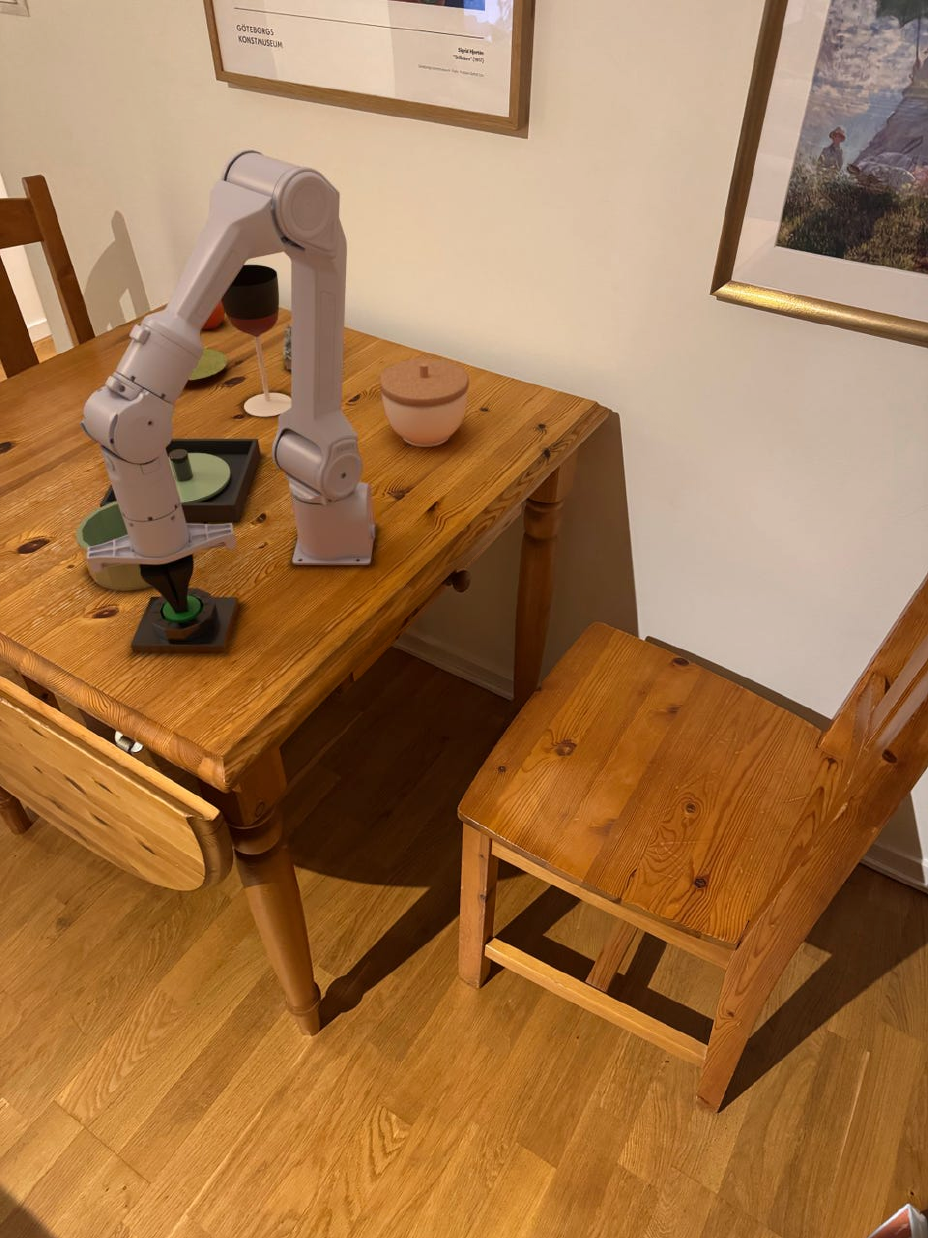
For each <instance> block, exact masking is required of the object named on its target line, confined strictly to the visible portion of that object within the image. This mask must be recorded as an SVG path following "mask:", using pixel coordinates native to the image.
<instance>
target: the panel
mask: <svg viewBox="0 0 928 1238" xmlns="http://www.w3.org/2000/svg"><path fill="white" fill-rule="evenodd" d="M187 595H188V596H193V597H195V598H197V599H198V600H199V602H200V604H201V608H202V611H201V613H200V614H198V615H197V616H196V617H195V618H193V619H191V620H188V621H185V622H169V621H167V620H165V617H164V614H163V608H164V605H165V604H166V603H167V602H168V601H167V600H166V599H165V598H164V597H163V596H162V595H161V596H150V598H149V601H148V603H147V605H146V607H145V609H144V612H143V615H142V617H141V620H140V622H139V624H138V626H137V629H136V631H135V634H134V636H133V638H132V640H131V643H130V648H131V650H132V653H134V654H135V653H141V654H142V653H144V654H145V653H148V654H149V653H152V654H153V653H154V654H155V653H158V654H159V653H161V654H162V653H163V654H164V653H165V654H166V653H168V654H169V653H170V654H171V653H173V654H175V653H176V654H177V653H179V654H181V653H182V654H185V653H187V654H188V653H189V654H209V653H210V654H221V653H222V654H225V652H226V649H227V646H228V643H229V640H230V637H231V633H232V629H233V626H234V624H235V620H236V618H237V614H238V610H239V607H240V602H239V598H238V597H237V596H212V594H211V593H210V592H207V591H205V590H203V589H200V588H199V587H188V592H187Z"/></svg>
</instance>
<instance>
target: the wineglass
mask: <svg viewBox="0 0 928 1238" xmlns="http://www.w3.org/2000/svg"><path fill="white" fill-rule="evenodd" d="M221 303H222V306H223V308H224V311H225V316H226V318H227V319H228V321H229V323H230V324H231V326H232V327H233V328H235V329H236V330H238V331H240V332H242V333H245V334H248V335H250V336H253V338H254V344H255V350H256V356H257V362H258V368H259V372H260V378H261V384H262V390H263V393H260V394H257V395H253V396H252V397H249V398H248V399H247V400H246V401H245V403H244V405H243V409H244V411H245V412H246V413H247V414H249V415H251V416H257V417H273V416H279V415H281V414H282V413H284V412H285V411H287V410H288V409H289V408H291V396H289V395H286V394H284V393H280V392H270V391H269V385H268V380H267V373H266V367H265V361H264V355H263V350H262V344H261V337H260V336H261V335H262V334H265V333H266V332H268V331H270V330H271V329H273V328H274V326H275V325H276V324H277V321H278V319H279V313H280V288H279V278H278V272H277V271H276V269H274V268H273V267H271V266H266V265H261V264H244V265H243V267H242V268H241V270H240V271H239V273H238V274H237V276H236V277H235V279H234V280H233V282H232V283H231V285H230V286H229V288H228V289H227V291H226V292H225V294H224V295H223V297H222V299H221Z"/></svg>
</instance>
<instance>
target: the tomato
mask: <svg viewBox="0 0 928 1238" xmlns="http://www.w3.org/2000/svg"><path fill="white" fill-rule="evenodd" d="M225 316H226V313H225V311H224V308H223V306H222V303H221V300H220V302H219V303H218V305H217V306H216V308H215V309H214V311H213V312H212V314H211V315H210V317H209V318H208V320H207V321H206V323H205V324H204V326H203V327H202V329H201V330H206V331H207V330H213V329H216V328H217V327H220V324H222V322H223V320H224V318H225Z"/></svg>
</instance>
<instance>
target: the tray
mask: <svg viewBox="0 0 928 1238" xmlns="http://www.w3.org/2000/svg"><path fill="white" fill-rule="evenodd" d="M177 449H184V450H186V451H187V452H188V453H204V454H210V455H214V456H216V457H219V458H221V459H222V460H224V461H225V462H226V463H227V464H228V466H229V468H230V472H231V478H230V481H229V483H228V484H227V486H226V487H225V488H224V489H223V490H222V491H220V492H219V493H218V494H216V495H215V496H213V497H211V498H209V499H206V500H204V501H201V502H181V506H182V509H183V513H184V517H185V520H186V523H239V521H240V518H241V515H242V512H243V509H244V506H245V504H246V501H247V498H248V494H249V493H250V489H251V486H252V483H253V480H254V477H255V475H256V472H257V468H258V466H259V462H260V460H261V457H262V453H261V448H260V443H259V439H258V438H172V439H171V442H170V444H169V445H168V446H167V447H166V452H167V455H168V457H169V454H170V452H172V451H174V450H177ZM115 501H117V499H116V496H115V493H114V490H113V487H112V484H111V483H110V485H109V487H108V489H107V491H106V492H105V494H104V496H103V498H102V500H101V501H100V503H99V508H100V507H102V506H105V505H107V504H109V503H112V502H115Z"/></svg>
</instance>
